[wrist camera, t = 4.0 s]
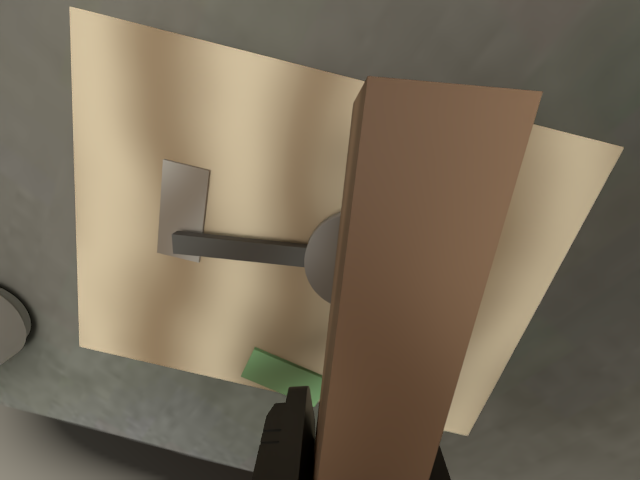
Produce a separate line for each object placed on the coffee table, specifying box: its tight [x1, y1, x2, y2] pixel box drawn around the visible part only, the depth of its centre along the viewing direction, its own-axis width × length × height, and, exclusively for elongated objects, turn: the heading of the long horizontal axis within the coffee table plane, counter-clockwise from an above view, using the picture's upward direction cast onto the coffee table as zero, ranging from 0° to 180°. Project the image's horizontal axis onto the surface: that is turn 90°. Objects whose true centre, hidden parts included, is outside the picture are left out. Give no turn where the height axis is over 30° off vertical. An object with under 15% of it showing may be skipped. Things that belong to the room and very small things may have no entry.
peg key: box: [172, 76, 543, 480], centre depth 10 cm, size 10×12×9 cm
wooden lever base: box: [70, 7, 624, 436], centre depth 17 cm, size 22×16×5 cm
